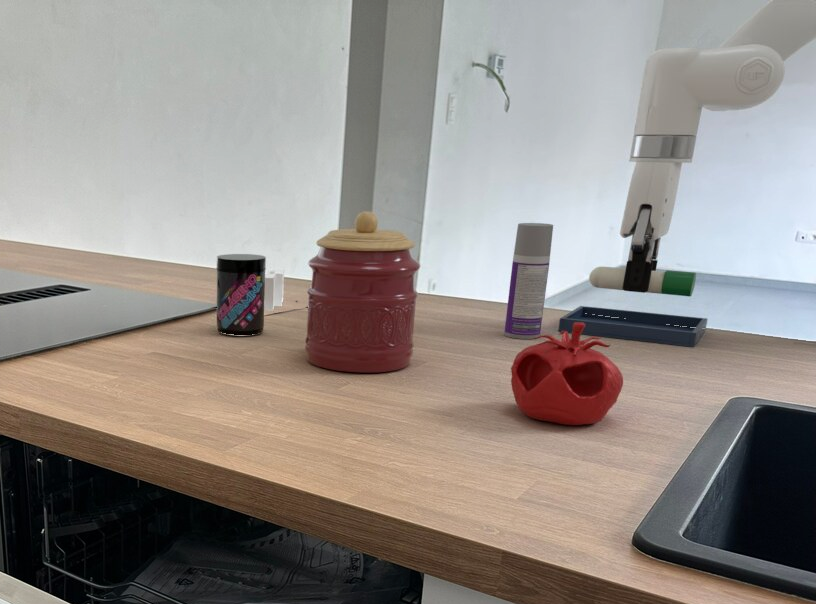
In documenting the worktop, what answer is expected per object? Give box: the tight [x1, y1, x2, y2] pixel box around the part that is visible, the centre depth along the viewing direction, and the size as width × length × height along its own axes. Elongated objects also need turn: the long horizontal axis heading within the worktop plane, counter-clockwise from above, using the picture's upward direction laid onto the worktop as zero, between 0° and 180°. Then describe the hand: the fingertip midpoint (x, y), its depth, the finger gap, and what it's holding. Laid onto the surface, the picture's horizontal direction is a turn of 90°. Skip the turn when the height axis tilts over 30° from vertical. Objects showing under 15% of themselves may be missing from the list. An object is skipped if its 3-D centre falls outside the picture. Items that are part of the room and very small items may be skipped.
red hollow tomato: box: [510, 322, 624, 426], centre depth 82 cm, size 10×10×9 cm
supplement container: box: [215, 253, 267, 335], centre depth 119 cm, size 7×7×10 cm
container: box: [504, 222, 554, 340], centre depth 117 cm, size 5×5×15 cm
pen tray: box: [558, 305, 708, 348], centre depth 122 cm, size 17×12×2 cm
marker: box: [588, 266, 697, 297], centre depth 120 cm, size 13×3×3 cm, turn 55°
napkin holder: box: [264, 267, 285, 311], centre depth 139 cm, size 15×11×6 cm
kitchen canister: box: [304, 210, 421, 374], centre depth 102 cm, size 13×13×18 cm
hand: (637, 288), depth 120 cm, fingers closed on marker, 3 cm apart
